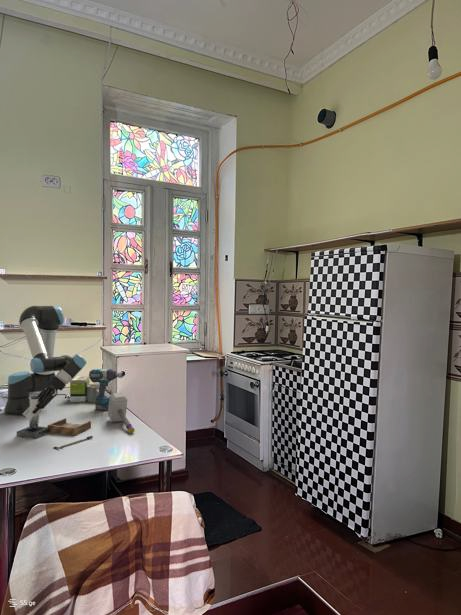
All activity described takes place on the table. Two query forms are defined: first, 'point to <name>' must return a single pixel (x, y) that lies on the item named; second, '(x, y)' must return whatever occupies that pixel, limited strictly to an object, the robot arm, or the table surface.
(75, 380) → the tea box
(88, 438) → the tan and black strip
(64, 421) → the brown wooden tray
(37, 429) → the socket
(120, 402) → the hammer
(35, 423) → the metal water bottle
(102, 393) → the impact wrench
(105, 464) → the table surface
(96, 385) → the grey box
